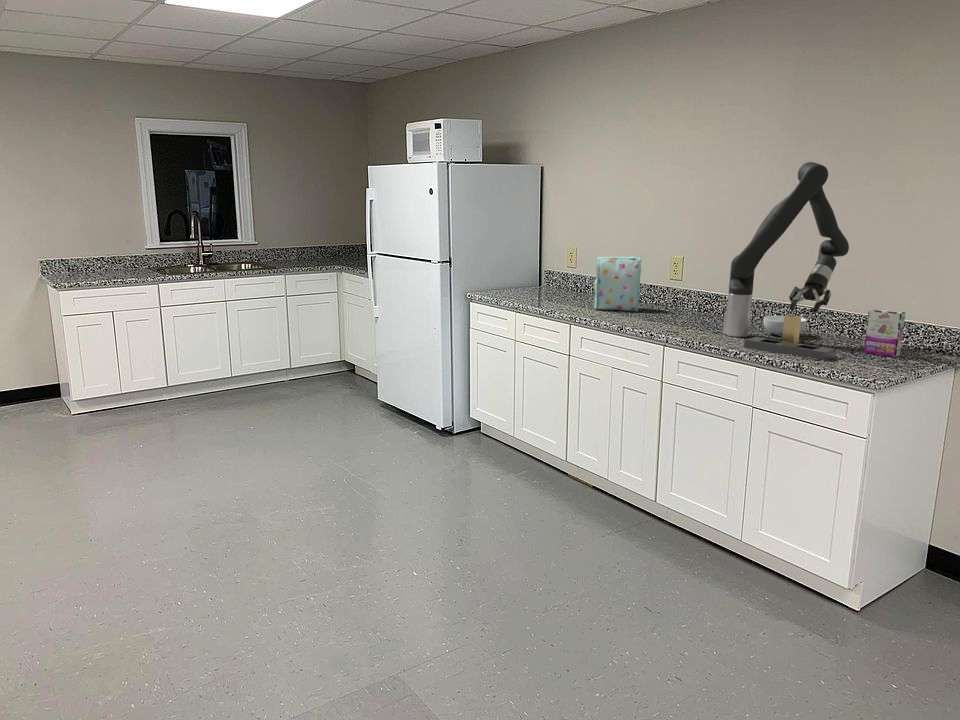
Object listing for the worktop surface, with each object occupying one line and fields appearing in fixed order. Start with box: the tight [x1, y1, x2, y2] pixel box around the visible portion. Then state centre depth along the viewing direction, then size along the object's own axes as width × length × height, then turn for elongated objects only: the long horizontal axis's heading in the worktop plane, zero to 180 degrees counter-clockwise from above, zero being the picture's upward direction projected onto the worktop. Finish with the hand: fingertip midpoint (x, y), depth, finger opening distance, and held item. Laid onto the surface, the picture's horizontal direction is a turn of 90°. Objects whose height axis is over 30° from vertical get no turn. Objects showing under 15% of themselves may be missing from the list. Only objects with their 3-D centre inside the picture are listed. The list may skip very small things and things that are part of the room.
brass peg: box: [781, 314, 802, 344], centre depth 280 cm, size 4×4×12 cm
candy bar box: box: [863, 308, 906, 358], centre depth 269 cm, size 11×5×16 cm, turn 45°
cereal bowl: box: [763, 315, 808, 337], centre depth 307 cm, size 17×17×7 cm
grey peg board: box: [743, 336, 837, 361], centre depth 271 cm, size 30×9×3 cm, turn 43°
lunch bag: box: [593, 255, 642, 312], centre depth 371 cm, size 23×16×27 cm
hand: (802, 310), depth 284 cm, fingers open, 8 cm apart
